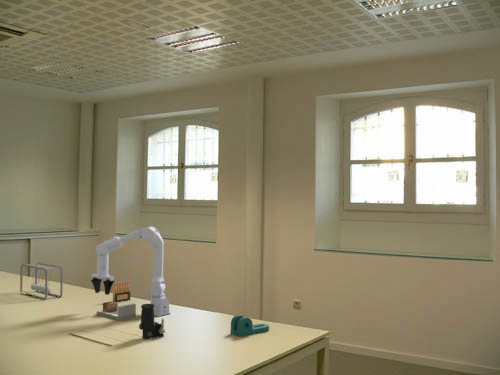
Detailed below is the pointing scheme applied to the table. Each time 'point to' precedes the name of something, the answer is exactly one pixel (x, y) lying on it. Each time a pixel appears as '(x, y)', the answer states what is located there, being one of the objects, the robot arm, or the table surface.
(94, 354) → the table surface
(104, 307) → the block
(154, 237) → the robot arm
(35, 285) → the newton's cradle
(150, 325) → the scope
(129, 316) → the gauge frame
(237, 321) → the bracket
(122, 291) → the ammunition clip
